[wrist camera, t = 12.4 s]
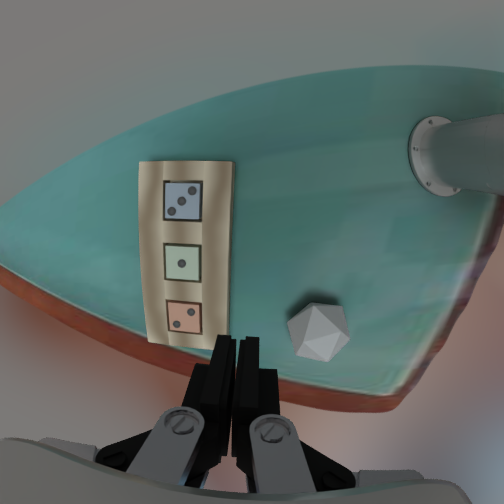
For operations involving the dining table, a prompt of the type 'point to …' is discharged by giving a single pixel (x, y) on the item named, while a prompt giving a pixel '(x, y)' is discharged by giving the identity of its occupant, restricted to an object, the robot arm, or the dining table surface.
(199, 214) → the button three
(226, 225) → the button board
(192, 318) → the button two
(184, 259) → the button one
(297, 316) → the die
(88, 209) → the dining table surface
